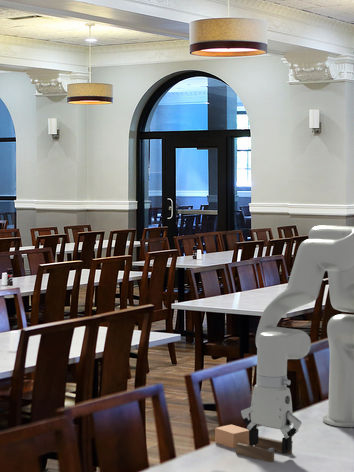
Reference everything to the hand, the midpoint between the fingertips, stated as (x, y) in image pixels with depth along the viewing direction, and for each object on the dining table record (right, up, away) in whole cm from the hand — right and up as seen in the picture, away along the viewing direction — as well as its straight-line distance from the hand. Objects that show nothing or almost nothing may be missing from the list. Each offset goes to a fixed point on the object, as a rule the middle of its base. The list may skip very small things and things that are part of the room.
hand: (269, 448), depth 216 cm
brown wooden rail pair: (-1, -1, +1) cm, 2 cm away
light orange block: (-9, -1, +10) cm, 13 cm away
